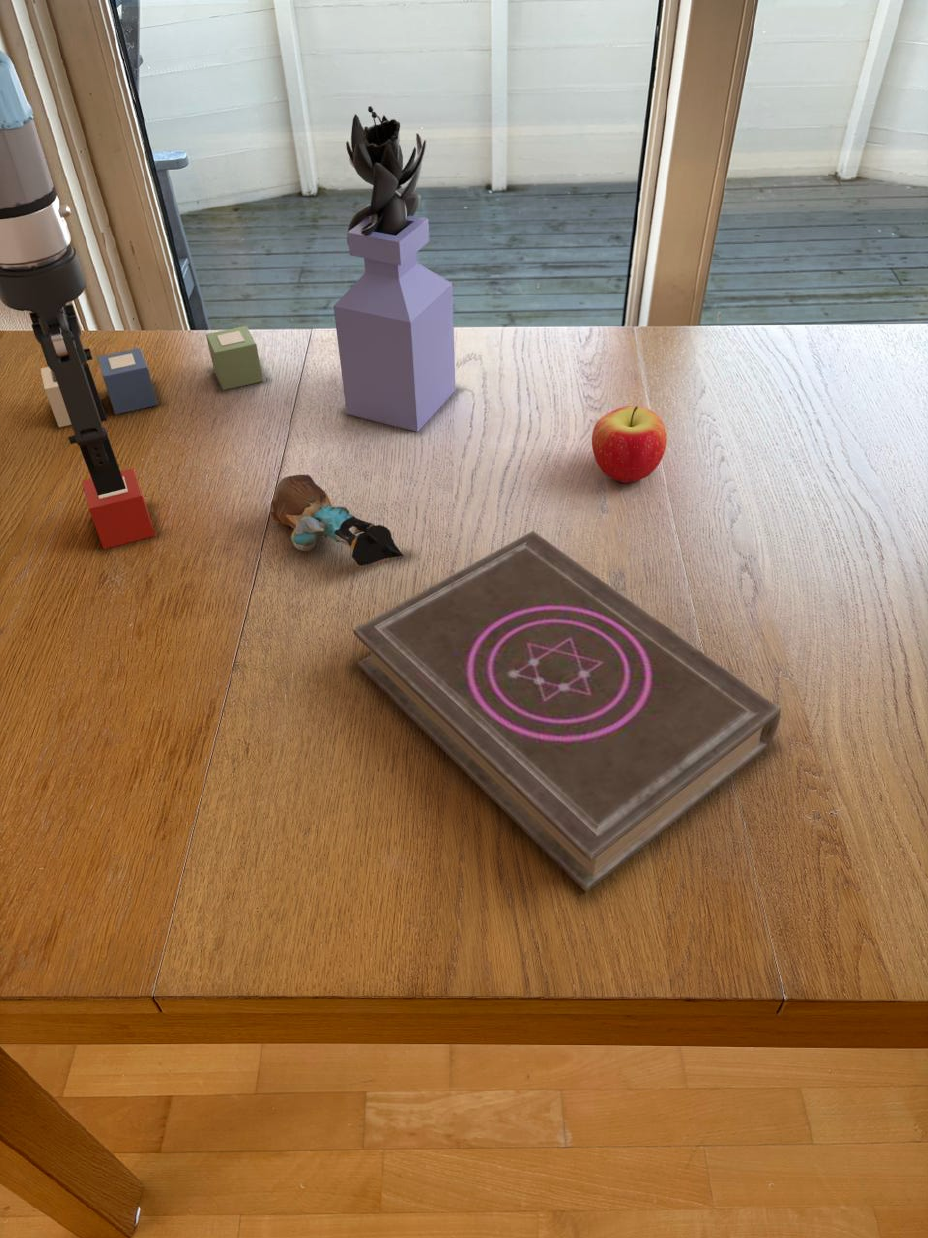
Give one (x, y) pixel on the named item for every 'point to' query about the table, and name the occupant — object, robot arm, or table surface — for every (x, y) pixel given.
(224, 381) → the sage block
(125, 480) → the red block
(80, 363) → the robot arm
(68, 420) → the cream block
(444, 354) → the vase
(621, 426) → the apple
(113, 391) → the blue block
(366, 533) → the figurine
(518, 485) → the table surface
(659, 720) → the book
